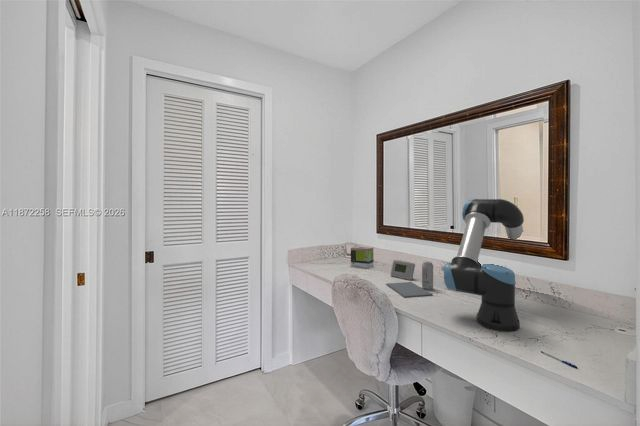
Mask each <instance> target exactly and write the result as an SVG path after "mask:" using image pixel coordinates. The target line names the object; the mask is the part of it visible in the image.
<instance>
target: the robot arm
mask: <svg viewBox="0 0 640 426" xmlns="http://www.w3.org/2000/svg"><path fill="white" fill-rule="evenodd" d="M461 215H462V220H463V221H464V223H465V228H464V231H463V234H462V238H461V241H460V245H459V248H458V251H457V255H456V256H454V257H453V258H452V259H451V261H450V262H446V263H445V264H444V265H441V266H440V267H441V268H440V270H441V272H443V280H444V284H445V288H447V289H448V290H450V291H455V292H459V293H465V294H471V295H477V296H480V297H481V301H480V302H481V303H480V306H479V309H478V311H477V313H476V322H477V324H479V325H481V326H483V327H485V328H487V329H491V330H494V331H501V332H516V331H518V330H520V328H521V326H520V325H521V324H520V323H521V321H520V319H519V315H518V313H517V310H516V306H515V305H516V284H517V282H516V274H515V272H514V271H513V269H511V268H508V267H506V266H505V267H503V266H499V265H494V264H483V265H482V266H481V264H480V263H479V262H478V260H479V257H480V252H481V248H482V243H483V240H484V237H485V233H486V229H487V228H489V227H490V226H491V223H496V224H498V223H500V224H502V225H503V226H504V228H505V233H506V237H507V236H508V237H507V239H508V238H510V239H517V238H519V237H520V236H521V234H522V232H524V227H523V223H524V222H525V221H524V220H525V219H524V214H523V212H522V211H521V209H520V208H519V207H518V206H517V205H515V204H514V203H513V202H511V201H509V200H507V199H502V198H498V199H497V198H496V199H495V198H492V199H491V198H490V199H489V198H484V199H483V198H481V199H480V198H473V199H468V200H467V201H465V203H464V204H463V207H462V213H461Z"/></svg>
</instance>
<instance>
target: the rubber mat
mask: <svg viewBox="0 0 640 426" xmlns="http://www.w3.org/2000/svg"><path fill="white" fill-rule="evenodd" d="M385 285H386V286H387V287H388V288H390V289H391V290H392V291H395V292H396V293H397V294H399V296H402V297H403V298H405V299H406V298H419V297H420V298H421V297H431V296H432V297H433V295H434V294H433V293H431V292H430V291H429V290H426V289H423V287H422V286H419V285H418V284H416V283H414V282H412V281H405V282H392V283H391V282H390V283H389V282H388V283H387V282H386V283H385Z"/></svg>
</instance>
